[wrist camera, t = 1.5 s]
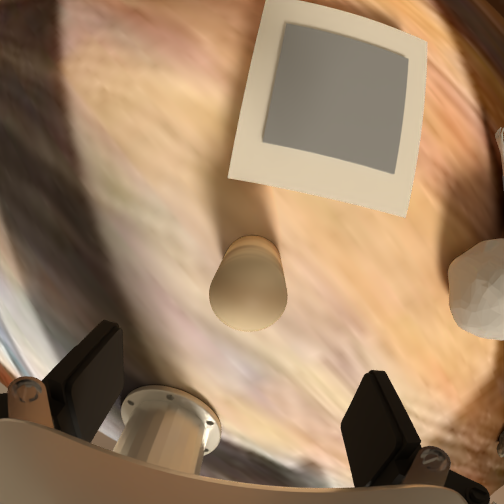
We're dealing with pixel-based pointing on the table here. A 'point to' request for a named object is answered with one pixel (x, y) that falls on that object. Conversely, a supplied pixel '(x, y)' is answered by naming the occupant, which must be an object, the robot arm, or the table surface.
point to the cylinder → (249, 285)
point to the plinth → (332, 107)
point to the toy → (480, 284)
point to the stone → (501, 445)
